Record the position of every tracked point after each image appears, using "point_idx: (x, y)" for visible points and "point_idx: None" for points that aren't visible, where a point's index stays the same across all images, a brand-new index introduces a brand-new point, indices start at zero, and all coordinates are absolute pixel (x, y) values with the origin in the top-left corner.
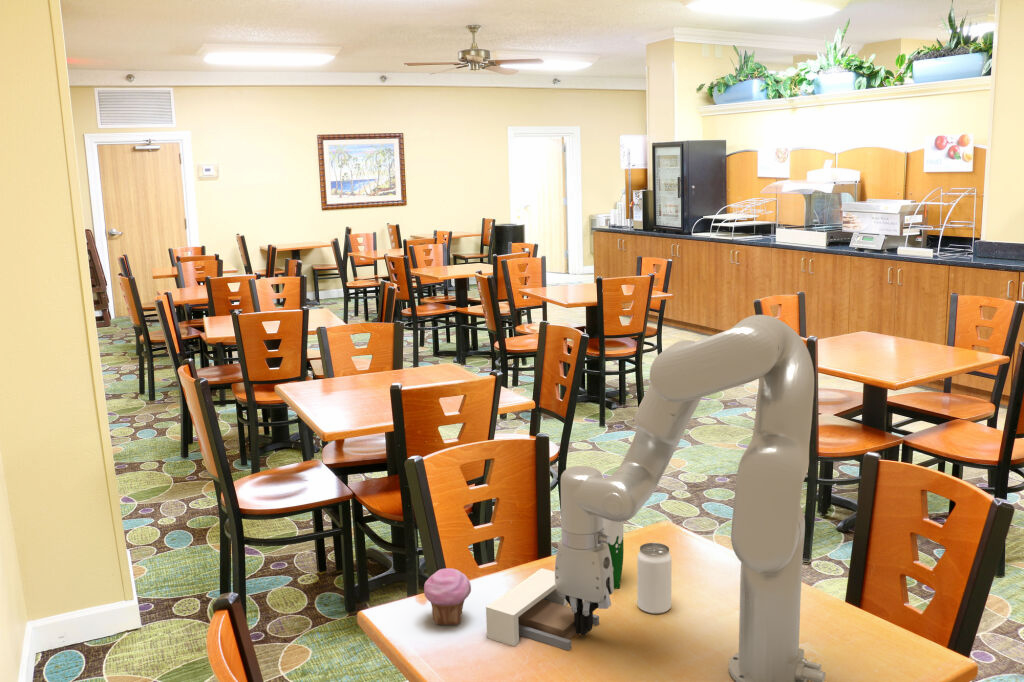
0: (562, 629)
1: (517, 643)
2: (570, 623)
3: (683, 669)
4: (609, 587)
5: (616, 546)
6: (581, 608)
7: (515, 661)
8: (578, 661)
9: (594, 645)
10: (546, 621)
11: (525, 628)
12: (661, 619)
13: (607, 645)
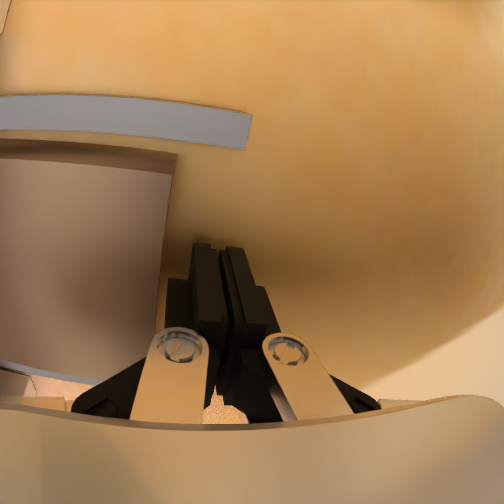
0: None
1: (31, 383)
2: (146, 334)
3: (498, 300)
4: (501, 425)
5: None
6: (211, 389)
7: None
8: None
9: (276, 308)
10: (39, 350)
11: (4, 363)
12: (481, 28)
13: (327, 288)
